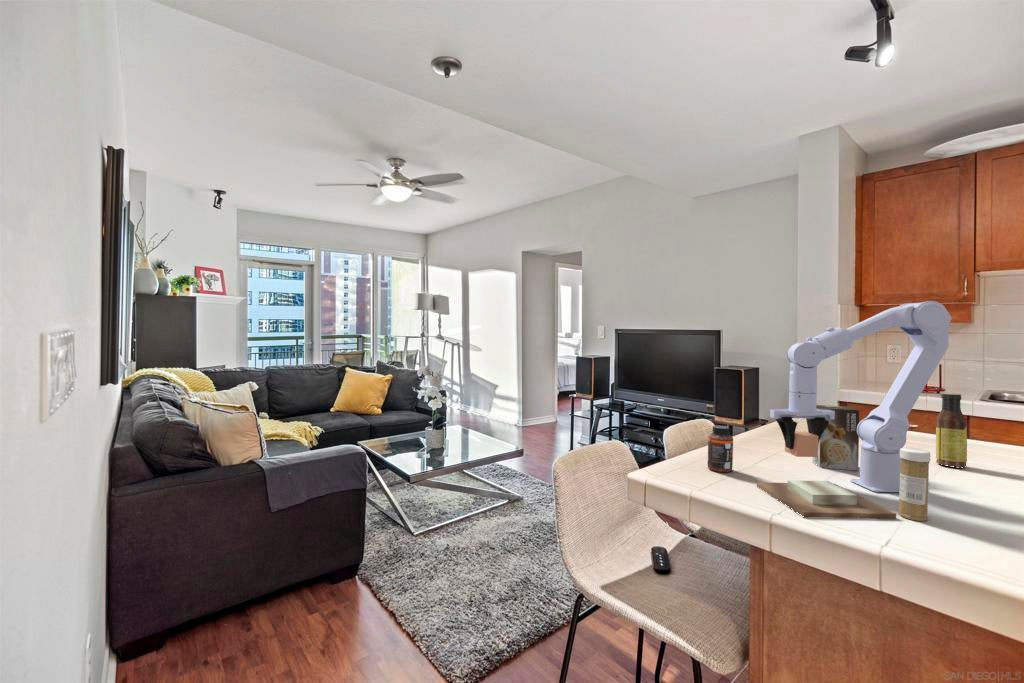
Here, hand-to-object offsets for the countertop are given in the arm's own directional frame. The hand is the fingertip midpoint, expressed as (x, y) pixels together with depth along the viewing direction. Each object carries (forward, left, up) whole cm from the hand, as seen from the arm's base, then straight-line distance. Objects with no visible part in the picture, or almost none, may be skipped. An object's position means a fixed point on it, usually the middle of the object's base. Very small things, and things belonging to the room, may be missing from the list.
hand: (801, 448), depth 116 cm
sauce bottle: (-50, -15, -8) cm, 53 cm away
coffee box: (-17, -13, -8) cm, 23 cm away
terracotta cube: (0, 0, -1) cm, 1 cm away
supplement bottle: (+16, -8, -8) cm, 20 cm away
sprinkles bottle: (-9, +22, -8) cm, 25 cm away
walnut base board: (+4, +14, -8) cm, 17 cm away
